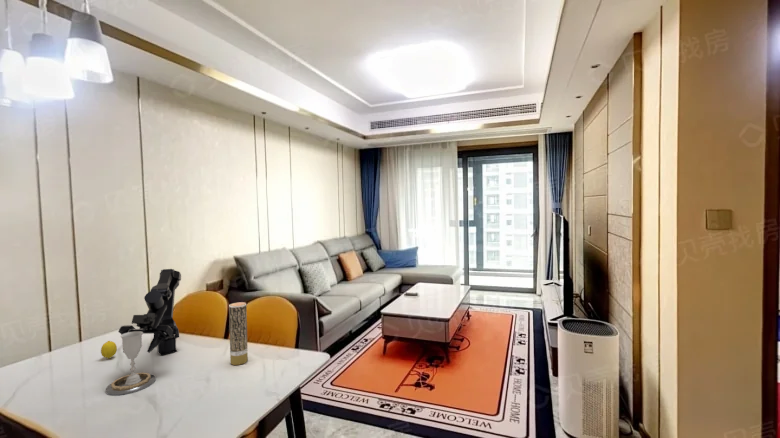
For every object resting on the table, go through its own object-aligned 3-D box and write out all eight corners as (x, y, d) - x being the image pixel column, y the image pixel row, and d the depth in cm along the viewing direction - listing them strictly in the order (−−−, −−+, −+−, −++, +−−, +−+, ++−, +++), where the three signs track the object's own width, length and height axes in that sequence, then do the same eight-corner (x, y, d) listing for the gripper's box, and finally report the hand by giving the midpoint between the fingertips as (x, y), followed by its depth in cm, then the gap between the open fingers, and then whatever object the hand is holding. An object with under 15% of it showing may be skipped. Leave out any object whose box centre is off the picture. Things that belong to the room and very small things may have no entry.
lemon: (110, 361, 154) (109, 343, 154) (97, 361, 154) (97, 343, 154) (120, 356, 159) (119, 338, 159) (108, 356, 159) (107, 338, 159)
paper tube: (250, 359, 153) (249, 302, 153) (242, 366, 146) (241, 306, 146) (235, 358, 154) (234, 302, 153) (227, 365, 147) (225, 306, 147)
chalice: (118, 383, 131) (116, 335, 131) (138, 375, 137) (137, 330, 137) (127, 387, 128) (126, 338, 127) (148, 380, 133) (146, 333, 133)
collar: (150, 372, 142) (150, 367, 142) (159, 384, 131) (159, 379, 131) (102, 385, 131) (102, 380, 131) (109, 400, 121) (108, 394, 121)
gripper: (121, 305, 139) (99, 343, 128) (168, 304, 139) (150, 342, 128) (135, 319, 147) (116, 356, 136) (180, 318, 147) (164, 355, 137)
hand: (136, 352), depth 134 cm, fingers open, 9 cm apart
